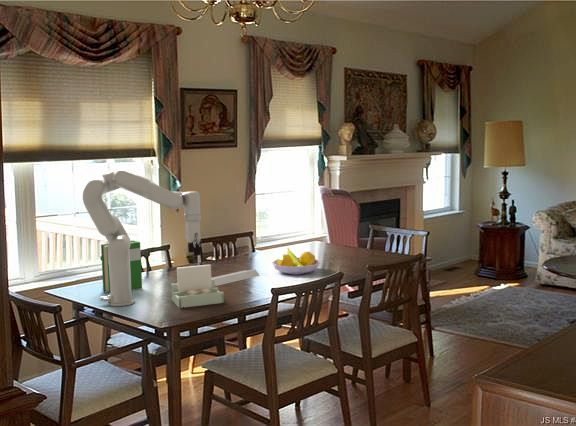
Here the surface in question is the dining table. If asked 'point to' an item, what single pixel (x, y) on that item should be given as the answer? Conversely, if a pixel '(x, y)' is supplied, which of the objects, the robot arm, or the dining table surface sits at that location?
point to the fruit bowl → (296, 263)
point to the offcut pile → (198, 291)
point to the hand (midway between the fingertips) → (194, 253)
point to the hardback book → (134, 266)
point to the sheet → (194, 277)
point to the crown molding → (234, 277)
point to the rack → (196, 297)
